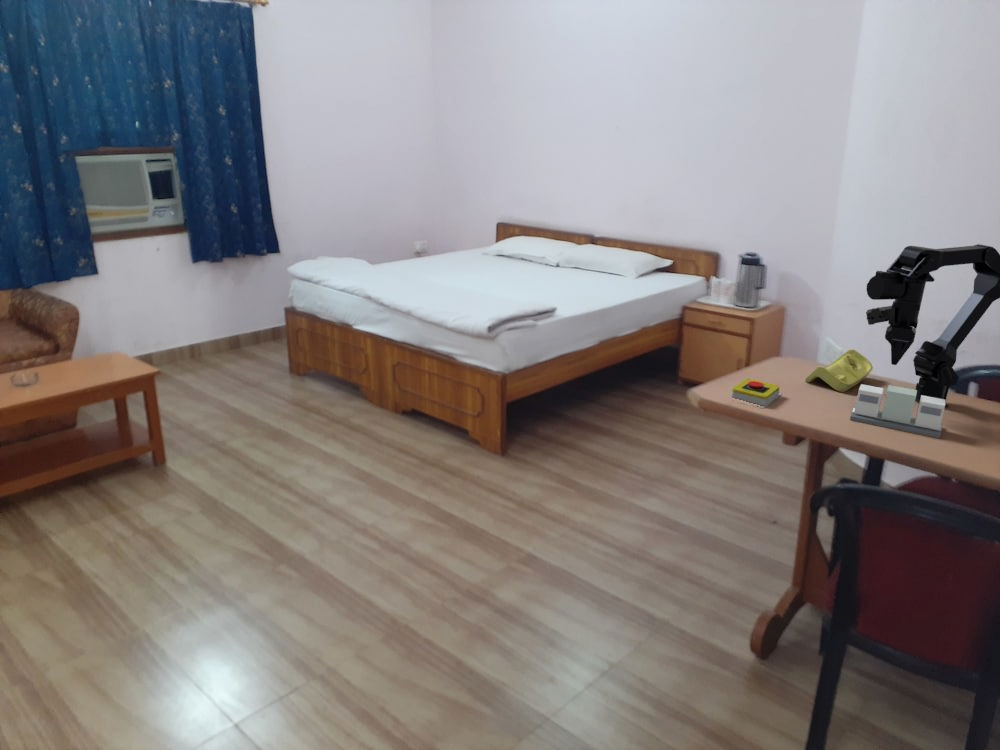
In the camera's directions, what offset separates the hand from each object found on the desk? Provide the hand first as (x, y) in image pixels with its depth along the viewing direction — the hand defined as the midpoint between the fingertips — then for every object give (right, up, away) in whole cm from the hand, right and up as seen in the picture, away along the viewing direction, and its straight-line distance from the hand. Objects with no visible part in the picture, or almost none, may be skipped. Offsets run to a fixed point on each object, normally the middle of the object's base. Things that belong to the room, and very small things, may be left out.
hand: (895, 360), depth 185 cm
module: (-5, -14, -9) cm, 17 cm away
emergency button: (-33, -10, +6) cm, 35 cm away
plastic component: (-4, -6, +20) cm, 22 cm away
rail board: (-5, -15, -8) cm, 18 cm away
